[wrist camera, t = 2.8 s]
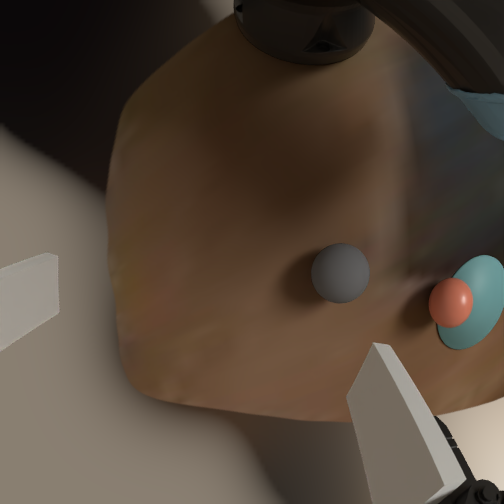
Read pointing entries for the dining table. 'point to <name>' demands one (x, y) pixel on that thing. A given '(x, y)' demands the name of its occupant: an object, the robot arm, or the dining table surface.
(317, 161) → the dining table surface
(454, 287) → the object ball
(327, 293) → the gray ball
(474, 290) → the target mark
